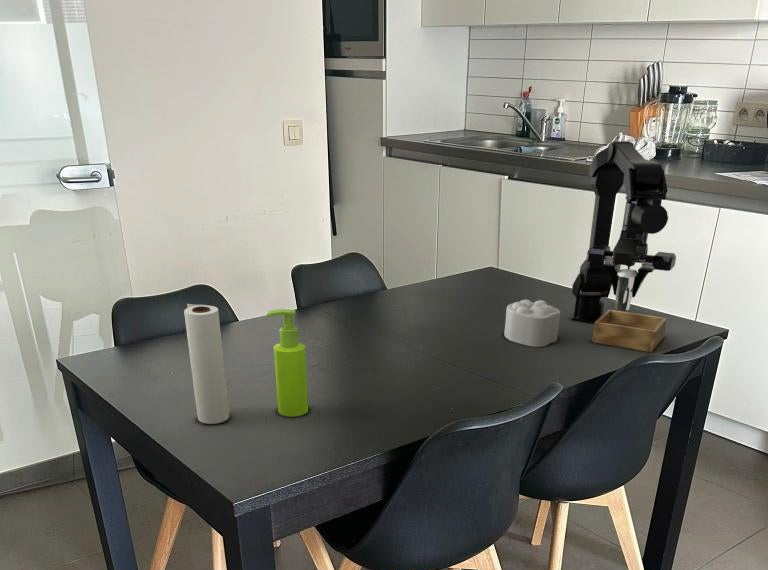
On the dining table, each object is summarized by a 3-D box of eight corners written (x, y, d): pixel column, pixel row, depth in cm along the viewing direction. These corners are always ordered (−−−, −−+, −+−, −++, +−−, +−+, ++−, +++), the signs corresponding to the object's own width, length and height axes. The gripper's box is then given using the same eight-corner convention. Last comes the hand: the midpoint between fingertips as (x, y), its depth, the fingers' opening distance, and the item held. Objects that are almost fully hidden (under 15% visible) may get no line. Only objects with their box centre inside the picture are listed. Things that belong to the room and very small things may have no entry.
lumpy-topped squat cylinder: (538, 348, 185) (542, 313, 181) (494, 336, 193) (497, 302, 189) (561, 338, 192) (566, 304, 187) (518, 327, 199) (522, 293, 195)
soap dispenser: (273, 405, 155) (266, 306, 144) (308, 404, 155) (303, 305, 145) (272, 417, 150) (265, 315, 139) (308, 416, 150) (303, 314, 140)
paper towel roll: (228, 424, 147) (216, 313, 136) (195, 425, 146) (181, 314, 135) (231, 409, 153) (220, 301, 142) (200, 410, 152) (187, 302, 141)
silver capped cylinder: (632, 306, 181) (640, 263, 176) (631, 312, 176) (639, 268, 171) (612, 304, 182) (619, 261, 177) (611, 311, 178) (617, 266, 172)
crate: (591, 342, 190) (594, 322, 187) (605, 328, 199) (608, 309, 197) (651, 352, 184) (655, 331, 181) (663, 337, 193) (667, 318, 191)
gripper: (584, 226, 167) (574, 298, 175) (672, 235, 160) (658, 310, 168) (597, 218, 176) (588, 287, 184) (682, 226, 168) (668, 298, 176)
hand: (624, 295), depth 178 cm, fingers closed on silver capped cylinder, 4 cm apart
